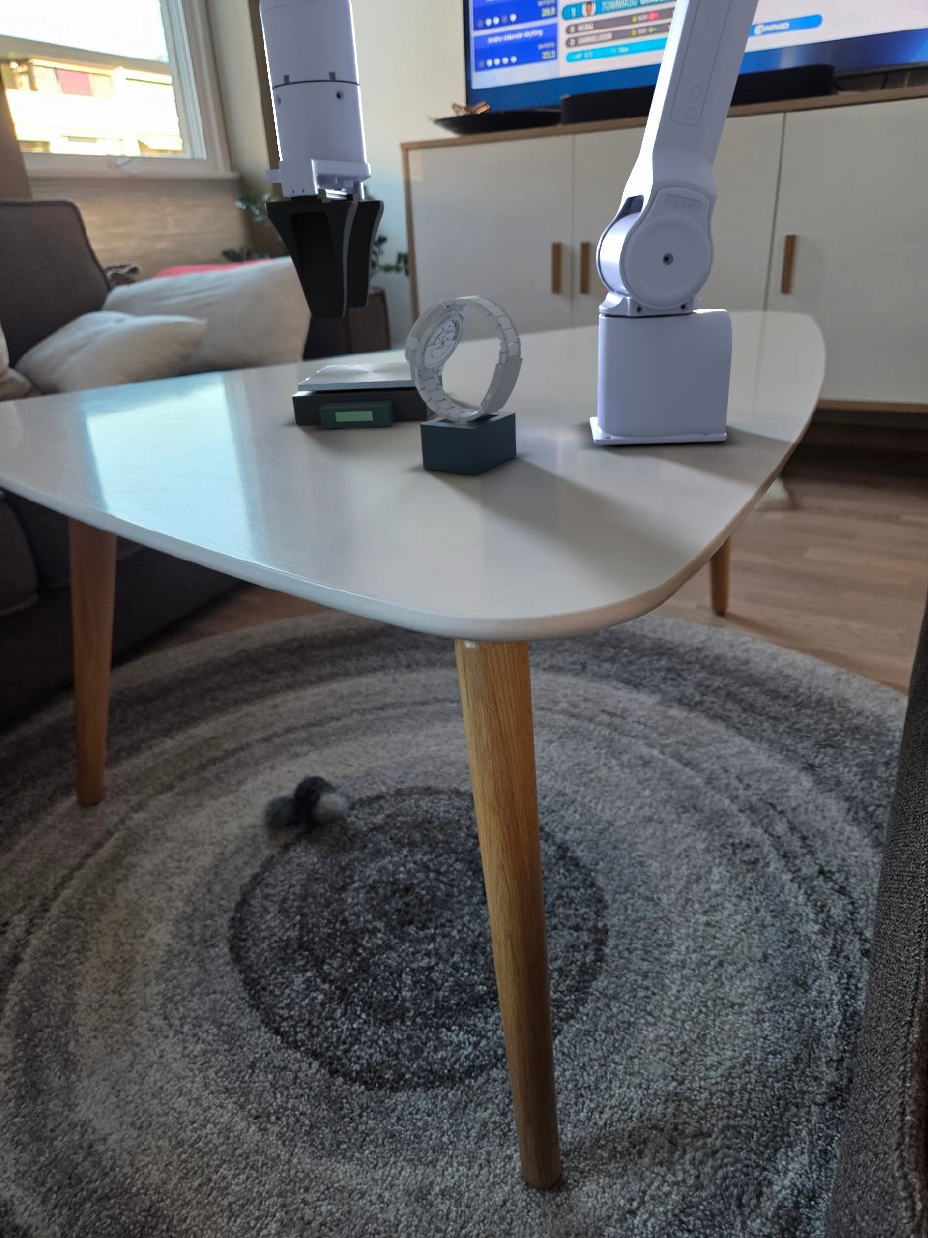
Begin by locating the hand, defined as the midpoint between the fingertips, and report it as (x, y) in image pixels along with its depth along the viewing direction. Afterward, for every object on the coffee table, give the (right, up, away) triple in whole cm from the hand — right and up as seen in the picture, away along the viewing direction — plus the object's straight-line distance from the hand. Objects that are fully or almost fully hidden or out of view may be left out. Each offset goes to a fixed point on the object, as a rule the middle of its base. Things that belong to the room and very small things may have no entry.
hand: (342, 312), depth 59 cm
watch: (+9, -11, 0) cm, 14 cm away
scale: (0, -2, +18) cm, 19 cm away
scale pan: (0, +1, +18) cm, 18 cm away
